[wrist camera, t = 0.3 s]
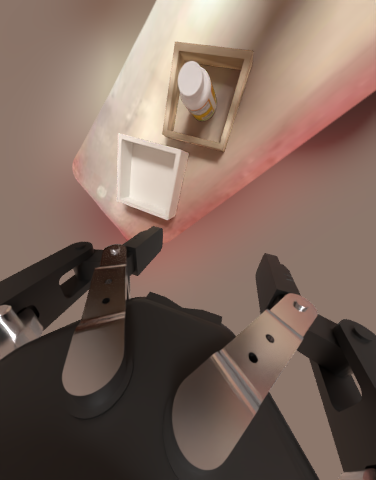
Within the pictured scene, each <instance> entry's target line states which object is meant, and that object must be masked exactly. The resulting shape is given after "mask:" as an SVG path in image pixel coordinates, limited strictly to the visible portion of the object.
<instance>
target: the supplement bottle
mask: <svg viewBox="0 0 376 480" xmlns="http://www.w3.org/2000/svg"><path fill="white" fill-rule="evenodd" d="M178 87H179V90H180V96H181V100H182V102H183V104H184V105H185V106H186V108H187V109H188V110H189V111H190V112H191V114H192V115H193V116H194V117H195V118H196V119H197V120H199V121H206V120H208V119H209V118H211V117H212V115H213V114H214V112H215V110H216V105H217V99H216V95H215V92H214V89H213V86H212V83H211V80H210V77H209V75H208V73H207V71H206V70H205V69H203V68H202V67H200V65H199V64H198V63H197V62H195V61H189V62H187V63H185V64H184V65H183V67H182V68H181V70H180V72H179V75H178Z"/></svg>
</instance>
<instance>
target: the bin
mask: <svg viewBox="0 0 376 480" xmlns="http://www.w3.org/2000/svg"><path fill="white" fill-rule="evenodd" d="M188 156H189V153H187V152H185V151H183V150H180V149H177V148H173V147H169V146H165V145H162V144H158V143H154V142H151V141H147V140H143V139H139V138H136V137H132V136H128V135H125V134H121V133H118V159H117V201H118V202H120V203H123V204H126V205H128V206H131V207H134V208H136V209H139V210H142V211H144V212H147V213H149V214H152V215H155V216H157V217H160V218H163V219H165V220H169V219H171V218H173V217H174V216H175V215H176V211H177V206H178V202H179V197H180V192H181V188H182V183H183V179H184V174H185V170H186V165H187V161H188Z"/></svg>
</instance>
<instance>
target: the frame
mask: <svg viewBox="0 0 376 480" xmlns="http://www.w3.org/2000/svg"><path fill="white" fill-rule="evenodd" d="M189 61H195V62H197V63H198V64H203V65H210V66H217V67H224V68H231V69H238V70H241V73H240V76H239V80H238V83H237V86H236V90H235V93H234V97H233V100H232V103H231V107H230V110H229V113H228V117H227V120H226V124H225V127H224V130H223V134H222V137H221V141H220V143H218V142H214V141H210V140H205V139H201V138H197V137H193V136H189V135H185V134H181V133H177V132H173V129H174V123H175V117H176V111H177V105H178V99H179V93H180V90H179V87H178V75H179V72H180V70H181V68H182V67H183V65H184V63H185V62H189ZM252 61H253V51H250V50H242V49H233V48H225V47H216V46H208V45H199V44H191V43H182V42H175V46H174V53H173V60H172V68H171V75H170V82H169V89H168V96H167V104H166V111H165V118H164V125H163V133H162V135H164V136H166V137H168V138H171V139H175V140H179V141H183V142H187V143H191V144H195V145H199V146H203V147H207V148H210V149H214V150H218V151H222V152H225V149H226V145H227V142H228V139H229V136H230V133H231V130H232V126H233V123H234V120H235V117H236V114H237V110H238V107H239V104H240V101H241V98H242V95H243V91H244V88H245V85H246V82H247V79H248V76H249V72H250V69H251V66H252Z"/></svg>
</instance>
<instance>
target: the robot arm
mask: <svg viewBox="0 0 376 480" xmlns="http://www.w3.org/2000/svg"><path fill="white" fill-rule="evenodd" d="M162 244H163V229H162V228H159V227H155V226H153V227H151V228H150V229H148V230H146V231H143V232H140V233H139V234H137V235H136V236H134V237H133V238H131V239H130V240H128V241H127V242H126V243H124V244H123V245H121V244H114V245H110V246H108V247H106V248H105V249H104V250H95V249H93V246H92V244H91V243H89V242H78V243H74V244H72V245H70V246H68V247H66V248H64V249H62V250H60V251H58V252H56V253H54V254H53V255H50V256H49V257H47V258H45V259H43V260H41V261H39V262H37V263H35V264H33V265H31V266H30V267H27V268H26V269H24V270H22V271H20V272H18V273H16V274H14V275H12V276H10V277H8V278H7V279H5V280H3V281H1V282H0V480H319V478H318V476H317V474H316V473H315V471H314V469H313V468H312V466H311V464H310V462H309V461H308V459H307V457H306V455H305V454H304V452H303V450H302V448H301V447H300V445H299V443H298V441H297V440H296V438H295V436H294V434H293V433H292V431H291V429H290V427H289V426H288V424H287V422H286V421H285V419H284V417H283V415H282V414H281V412H280V410H279V408H278V407H277V405H276V403H275V401H274V400H273V398H272V396H271V394H270V393H269V391H270V389H271V388H272V386H273V384H274V383H275V382H276V380H277V378H278V377H279V375H280V374H281V372H282V371H283V369H284V368H285V366H286V365H287V363H288V362H289V360H290V359H291V357H292V356H293V354H294V353H295V351H296V350H297V351H299V352H300V353H302V354H303V355H305V356H306V357H308V358H309V359H310V363H311V365H312V369H313V372H314V376H315V379H316V382H317V386H318V389H319V392H320V395H321V399H322V402H323V405H324V409H325V412H326V415H327V418H328V422H329V425H330V428H331V432H332V435H333V438H334V441H335V445H336V448H337V451H338V455H339V458H340V461H341V464H342V468H343V471H344V473H342V474H341V475H340V476H339V479H338V480H376V335H375V334H374V333H372V332H371V331H370V330H368V329H367V328H365V327H364V326H362V325H360V324H358V323H356V322H354V321H351V320H347V319H343V320H341V321H340V322H339V323H338V324H336V323H334V322H332V321H330V320H328V319H326V318H324V317H322V316H321V315H319V314H318V312H317V309H316V308H315V306H314V305H313V304H312V303H311V302H310V301H309V300H307V299H305V298H304V297H302V296H301V295H300V293H299V291H298V289H297V287H296V285H295V282H294V280H293V278H292V277H291V274H290V271H289V270H288V269H287V268H286V267H285V266H284V265H282V264H280V262H279V260H278V257H277V256H274V255H270V254H266V253H265V254H264V255H263V257H262V260H261V262H260V264H259V267H258V269H257V272H256V285H257V292H258V298H259V306H260V313H261V315H260V316H259V317H257V318H256V319H255V320H254V321H253V322H252V323H251V324H250V325H248V326H247V327H246V328H245V329H244V330H243V331H242V332H241V333H240V334H238V335H237V336H235V335H234V333H233V332H232V331H231V330H230V329H228V328H227V327H226V326H224V325H223V324H222V323H221V321H222V317H221V316H219V315H216V314H213V313H210V312H207V311H204V310H198V309H188V308H182V307H180V306H179V305H177V304H176V303H174V302H173V301H171V300H170V299H168V298H166V297H164V296H161V295H158V294H155V293H152V292H150V293H149V294H148V295H147V297H135V298H131V296H130V275H131V274H133V275H136V276H138V275H139V274H140V273H141V272H142V271H143V270H144V269H145V268H146V266H147V265H148V264H149V263H150V262H151V261H152V260H153V259H154V258H155V257H156V255H157V254H158V253H159V252H160V251H161V249H162ZM71 269H74V272H75V275H74V276H72V277H71V278H70V279H68V280H67V281H66V282H64V283H63V284H62V285H59V280H60V278H61V277H62V276H63V275H64V274H65V273H67V272H68V271H70V270H71ZM87 290H89V292H88V295H87V300H86V303H85V307H84V311H83V315H82V319H81V320H78V321H76V322H74V323H71V324H69V325H67V326H65V327H62V328H60V329H58V330H55V331H53V332H51V333H48V334H46V335H44V336H41V334H42V331H43V330H45V329H46V328H47V327H48V326H49V325H50V324H51V323H52V322H53V321H54V320H56V319H57V318H58V317H59V316H60V315H61V314H62V313H63V312H64V311H65V310H66V309H68V308H69V307H70V306H71V305H72V304H73V303H74V302H75V301H76V300H77V299H79V298H80V297H81V296H82V295H83V294H84V293H85V292H86V291H87ZM40 336H41V337H40ZM353 373H354V375H355V377H356V379H357V381H358V383H359V385H360V388H361V391H362V396H361V394H360V392H359V390H358V388H357V386H356V384H355V382H354V380H353V378H352V376H351V374H353Z"/></svg>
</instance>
